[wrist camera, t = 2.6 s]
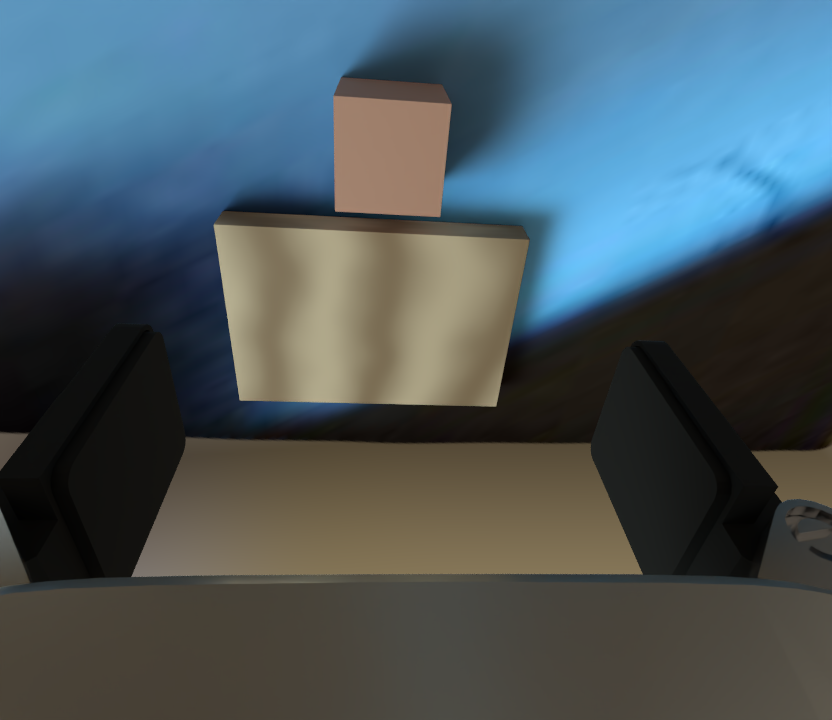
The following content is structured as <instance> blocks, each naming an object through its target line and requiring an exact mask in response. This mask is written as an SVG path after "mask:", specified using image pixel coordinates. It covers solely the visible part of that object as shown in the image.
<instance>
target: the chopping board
mask: <svg viewBox="0 0 832 720" xmlns="http://www.w3.org/2000/svg"><path fill="white" fill-rule="evenodd" d="M214 229H215V236H216V242H217V249H218V256H219V263H220V269H221V276H222V283H223V290H224V296H225V303H226V310H227V317H228V323H229V330H230V337H231V344H232V350H233V357H234V364H235V371H236V377H237V384H238V391H239V398H240V400H246V401H288V402H331V403H374V404H417V405H460V406H496V404H497V399H498V394H499V389H500V384H501V380H502V375H503V370H504V365H505V360H506V355H507V350H508V345H509V340H510V335H511V330H512V325H513V320H514V315H515V310H516V305H517V300H518V295H519V290H520V285H521V280H522V275H523V270H524V266H525V261H526V256H527V251H528V246H529V241H530V239H529V238H528V236H527V234H526V232H525V230H524V228H523V227H522V226H511V225H491V224H471V223H451V222H432V221H412V220H392V219H372V218H352V217H332V216H312V215H292V214H273V213H253V212H233V211H223V212H222V213H221V215H220V216H219V218H218V219H217V221H216V222H215V224H214Z"/></svg>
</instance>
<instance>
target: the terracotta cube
mask: <svg viewBox="0 0 832 720" xmlns="http://www.w3.org/2000/svg"><path fill="white" fill-rule="evenodd" d="M451 106H452V104H451V102H450V100H449V98H448V96H447V94H446V92H445V90H444V88H443V86H442V84H428V83H414V82H401V81H387V80H373V79H360V78H346V77H341V79H340V81H339V84H338V86H337V89H336V91H335V94H334V167H335V211H336V212H354V213H373V214H392V215H410V216H429V217H440V214H441V204H442V194H443V185H444V175H445V165H446V155H447V145H448V135H449V126H450V116H451Z"/></svg>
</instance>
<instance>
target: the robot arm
mask: <svg viewBox="0 0 832 720" xmlns="http://www.w3.org/2000/svg"><path fill="white" fill-rule="evenodd" d="M184 448H185V431H184V427H183V422H182V418H181V413H180V409H179V405H178V400H177V396H176V392H175V387H174V383H173V378H172V374H171V370H170V365H169V361H168V357H167V352H166V348H165V343H164V339H163V336H162V334H161V333H160V332H154V331H153V329H152V327H151V326H150V325H148V324H123V323H119V324H116V325H114V326H113V328H112V329H111V330H110V331H109V333H108V334H107V335H106V337H105V338H104V339H103V341H102V342H101V343H100V344H99V346H98V347H97V348H96V350H95V351H94V352H93V354H92V355H91V356H90V357H89V359H88V360H87V361H86V363H85V364H84V365H83V366H82V368H81V369H80V370H79V372H78V373H77V374H76V376H75V377H74V378H73V379H72V381H71V382H70V383H69V385H68V386H67V387H66V389H65V390H64V391H63V392H62V393H61V394H60V395H59V396H58V397H57V398H56V400H55V401H54V402H53V403H52V405H51V406H50V407H49V409H48V410H47V411H46V413H45V414H44V415H43V416H42V418H41V419H40V420H39V422H38V423H37V424H36V425H35V427H34V428H33V429H32V431H31V432H30V433H29V434H28V436H27V437H26V438H25V440H24V441H23V442H22V444H21V445H20V446H19V447H18V449H17V450H16V451H15V453H14V454H13V455H12V456H11V458H10V459H9V460H8V462H7V463H6V464H5V465H4V467H3V468H2V469H1V471H0V720H832V508H829V507H827V506H825V505H822V504H819V503H816V502H813V501H807V500H801V499H796V500H795V499H794V500H787V501H785V502H783V503H782V502H781V500H780V499H779V498H778V496H777V495H776V494H775V493H774V492H775V491H776V489H777V488H778V486H777V485H776V483H775V482H774V481H773V479H772V478H771V477H770V475H769V474H768V473H767V472H766V470H765V469H764V468H763V466H762V465H761V464H760V463H759V461H758V460H757V459H756V458H755V456H754V455H753V454H752V452H751V451H750V450H749V448H748V447H747V446H746V445H745V443H744V442H743V441H742V439H741V438H740V437H739V436H738V434H737V433H736V432H735V430H734V429H733V428H732V427H731V425H730V424H729V423H728V421H727V420H726V419H725V417H724V416H723V415H722V414H721V412H720V411H719V410H718V408H717V407H716V406H715V405H714V403H713V402H712V401H711V399H710V398H709V397H708V396H707V394H706V393H705V392H704V390H703V389H702V388H701V387H700V385H699V384H698V383H697V381H696V380H695V379H694V378H693V376H692V375H691V374H690V372H689V371H688V370H687V369H686V367H685V366H684V365H683V363H682V362H681V361H680V360H679V358H678V357H677V356H676V354H675V353H674V352H673V351H672V349H671V348H670V347H669V345H668V344H667V343H665V342H662V341H635V342H634V343H633V344H632V345H631V347H626V348H625V349H624V350H623V352H622V354H621V357H620V360H619V363H618V366H617V369H616V372H615V375H614V377H613V380H612V383H611V386H610V389H609V392H608V395H607V398H606V401H605V404H604V407H603V410H602V412H601V415H600V418H599V421H598V424H597V427H596V430H595V433H594V436H593V439H592V442H591V455H592V458H593V461H594V463H595V465H596V467H597V470H598V472H599V474H600V477H601V479H602V481H603V483H604V486H605V488H606V490H607V492H608V495H609V497H610V500H611V502H612V504H613V507H614V509H615V511H616V513H617V515H618V518H619V520H620V523H621V525H622V527H623V529H624V532H625V534H626V536H627V539H628V541H629V543H630V545H631V548H632V550H633V552H634V555H635V557H636V559H637V562H638V564H639V566H640V568H641V571H642V573H643V575H634V574H631V575H630V574H626V575H625V574H620V575H619V574H373V575H371V574H363V575H362V574H361V575H360V574H355V575H354V574H353V575H221V576H219V575H217V576H163V577H162V576H161V577H131V576H132V574H133V571H134V569H135V566H136V564H137V562H138V559H139V557H140V555H141V552H142V550H143V547H144V545H145V543H146V540H147V538H148V535H149V533H150V531H151V528H152V526H153V524H154V521H155V519H156V516H157V514H158V512H159V509H160V507H161V504H162V502H163V500H164V497H165V495H166V493H167V490H168V488H169V485H170V483H171V481H172V478H173V476H174V474H175V471H176V468H177V466H178V464H179V462H180V459H181V457H182V455H183V452H184Z"/></svg>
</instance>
